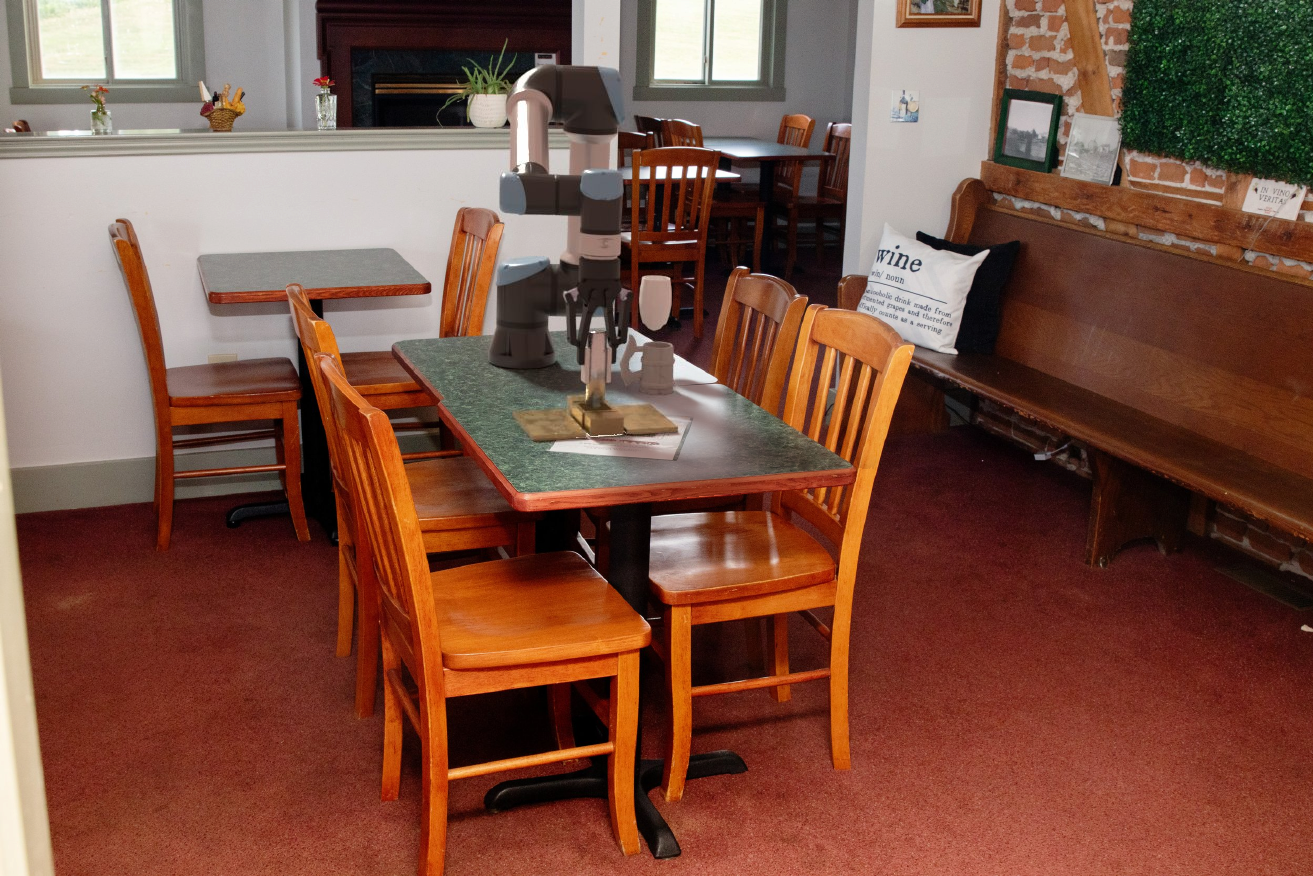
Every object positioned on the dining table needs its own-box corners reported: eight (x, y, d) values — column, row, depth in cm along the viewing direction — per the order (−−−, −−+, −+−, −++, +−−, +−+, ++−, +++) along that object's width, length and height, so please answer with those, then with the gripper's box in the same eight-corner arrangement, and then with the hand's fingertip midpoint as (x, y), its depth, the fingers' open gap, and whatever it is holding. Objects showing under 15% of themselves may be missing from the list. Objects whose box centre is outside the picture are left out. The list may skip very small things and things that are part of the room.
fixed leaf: (512, 416, 237) (513, 398, 236) (599, 412, 243) (600, 394, 242) (532, 441, 223) (533, 422, 222) (624, 435, 228) (625, 417, 227)
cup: (670, 367, 281) (675, 276, 275) (665, 374, 274) (669, 281, 268) (639, 364, 282) (643, 274, 276) (633, 371, 275) (637, 279, 269)
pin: (583, 402, 234) (585, 329, 230) (601, 401, 235) (603, 329, 231) (588, 407, 231) (590, 334, 227) (607, 406, 232) (609, 333, 228)
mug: (678, 395, 258) (681, 338, 254) (622, 395, 255) (624, 338, 252) (670, 385, 265) (672, 330, 262) (615, 386, 262) (617, 330, 259)
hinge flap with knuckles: (566, 412, 241) (567, 395, 240) (650, 408, 246) (650, 391, 245) (590, 436, 226) (590, 418, 225) (677, 431, 232) (678, 413, 231)
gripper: (560, 259, 219) (557, 387, 226) (649, 259, 224) (644, 384, 231) (550, 253, 226) (547, 377, 233) (636, 252, 231) (631, 374, 238)
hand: (595, 380), depth 232 cm, fingers closed on pin, 4 cm apart
